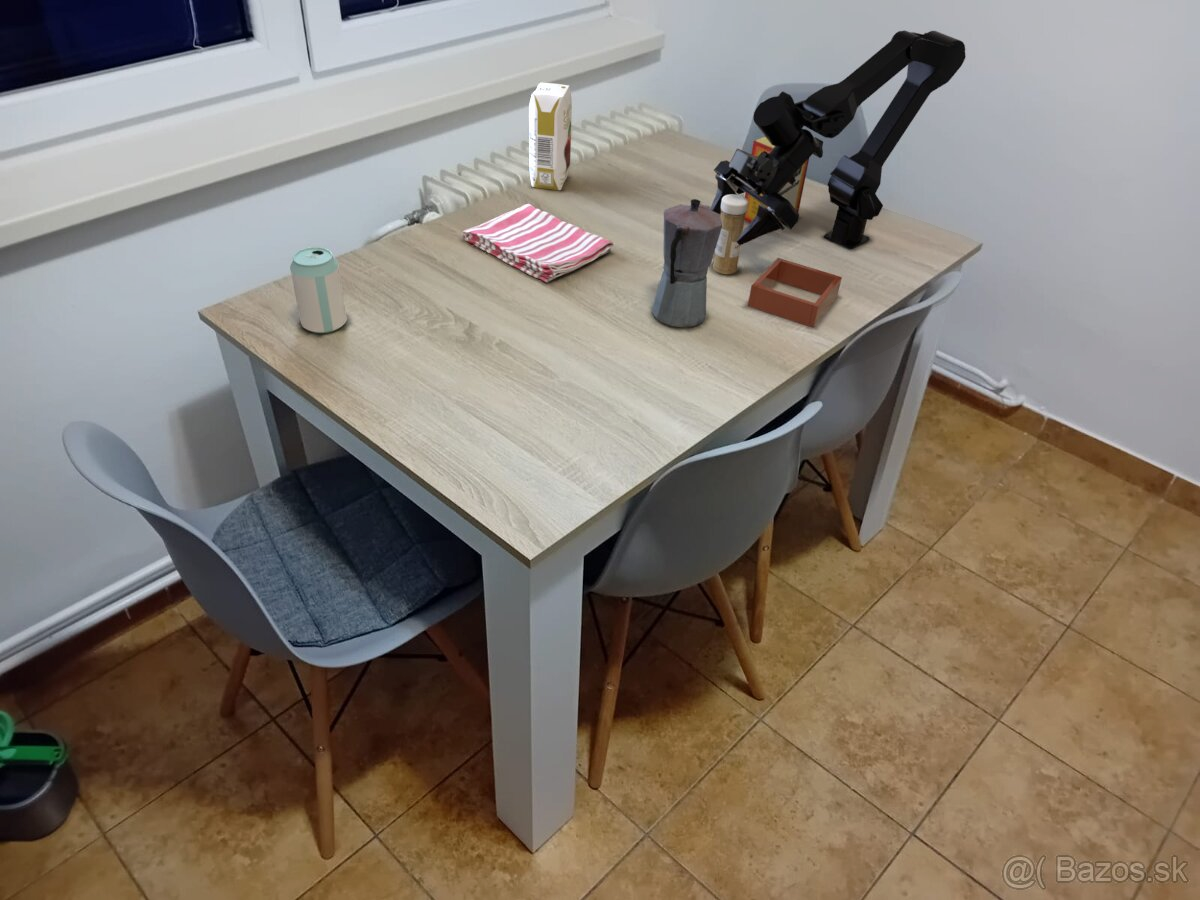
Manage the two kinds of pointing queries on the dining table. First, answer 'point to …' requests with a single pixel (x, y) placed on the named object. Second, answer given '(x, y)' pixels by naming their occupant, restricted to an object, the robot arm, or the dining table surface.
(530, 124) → the juice carton
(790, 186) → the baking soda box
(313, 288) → the can
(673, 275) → the moka pot
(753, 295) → the holder
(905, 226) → the dining table surface
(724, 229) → the sprinkles bottle
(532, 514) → the dining table surface
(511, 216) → the dish towel
